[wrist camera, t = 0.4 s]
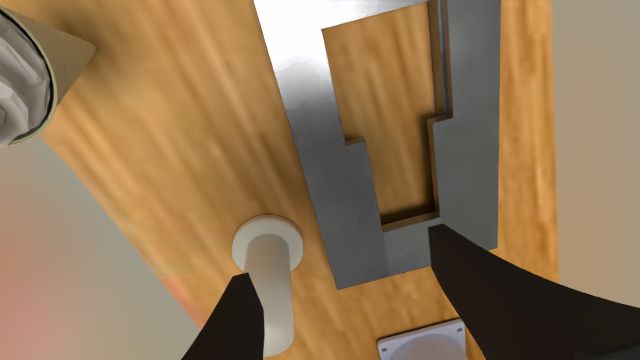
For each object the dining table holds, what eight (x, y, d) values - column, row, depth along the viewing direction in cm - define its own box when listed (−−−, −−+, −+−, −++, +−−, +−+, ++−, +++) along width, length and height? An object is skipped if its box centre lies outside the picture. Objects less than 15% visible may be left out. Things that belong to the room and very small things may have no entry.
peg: (309, 260, 26) (322, 355, 19) (246, 277, 26) (235, 378, 19) (292, 206, 24) (299, 291, 16) (222, 225, 24) (199, 317, 16)
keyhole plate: (481, 231, 26) (497, 248, 25) (333, 270, 26) (337, 290, 25) (477, -79, 17) (501, -90, 15) (250, -18, 17) (247, -22, 15)
